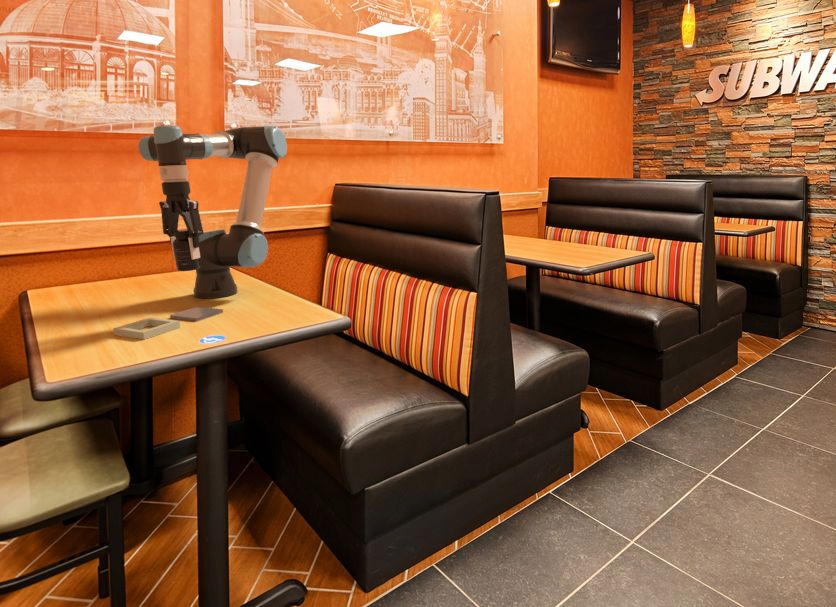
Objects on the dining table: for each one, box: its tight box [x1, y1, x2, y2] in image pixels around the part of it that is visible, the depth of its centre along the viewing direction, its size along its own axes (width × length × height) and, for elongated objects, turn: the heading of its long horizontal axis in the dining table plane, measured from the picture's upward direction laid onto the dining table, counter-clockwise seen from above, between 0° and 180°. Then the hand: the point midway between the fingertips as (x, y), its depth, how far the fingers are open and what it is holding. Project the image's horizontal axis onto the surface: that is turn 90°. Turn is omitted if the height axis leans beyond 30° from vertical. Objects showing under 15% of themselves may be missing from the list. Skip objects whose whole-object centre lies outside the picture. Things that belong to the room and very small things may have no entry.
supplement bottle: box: [172, 228, 200, 272], centre depth 165 cm, size 7×7×12 cm
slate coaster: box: [169, 306, 224, 322], centre depth 171 cm, size 11×11×1 cm
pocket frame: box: [113, 316, 181, 340], centre depth 155 cm, size 12×12×2 cm
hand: (187, 257), depth 166 cm, fingers closed on supplement bottle, 7 cm apart
